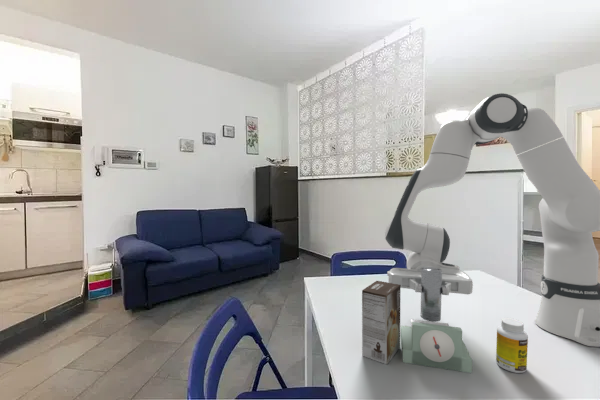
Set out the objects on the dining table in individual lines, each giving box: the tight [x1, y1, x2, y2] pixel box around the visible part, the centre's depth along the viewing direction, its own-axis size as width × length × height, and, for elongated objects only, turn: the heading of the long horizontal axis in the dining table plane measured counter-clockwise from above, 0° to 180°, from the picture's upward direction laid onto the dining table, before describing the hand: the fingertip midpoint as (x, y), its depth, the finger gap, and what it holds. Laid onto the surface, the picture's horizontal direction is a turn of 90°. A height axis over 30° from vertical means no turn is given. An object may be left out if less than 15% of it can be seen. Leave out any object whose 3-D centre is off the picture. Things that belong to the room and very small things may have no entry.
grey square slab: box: [410, 318, 450, 327], centre depth 72 cm, size 9×9×2 cm
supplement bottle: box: [495, 317, 529, 374], centre depth 65 cm, size 6×6×10 cm
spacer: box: [420, 267, 442, 322], centre depth 72 cm, size 5×5×12 cm
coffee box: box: [361, 280, 401, 365], centre depth 71 cm, size 9×6×16 cm
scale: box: [400, 322, 473, 374], centre depth 70 cm, size 14×13×9 cm
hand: (432, 290), depth 71 cm, fingers closed on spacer, 5 cm apart
